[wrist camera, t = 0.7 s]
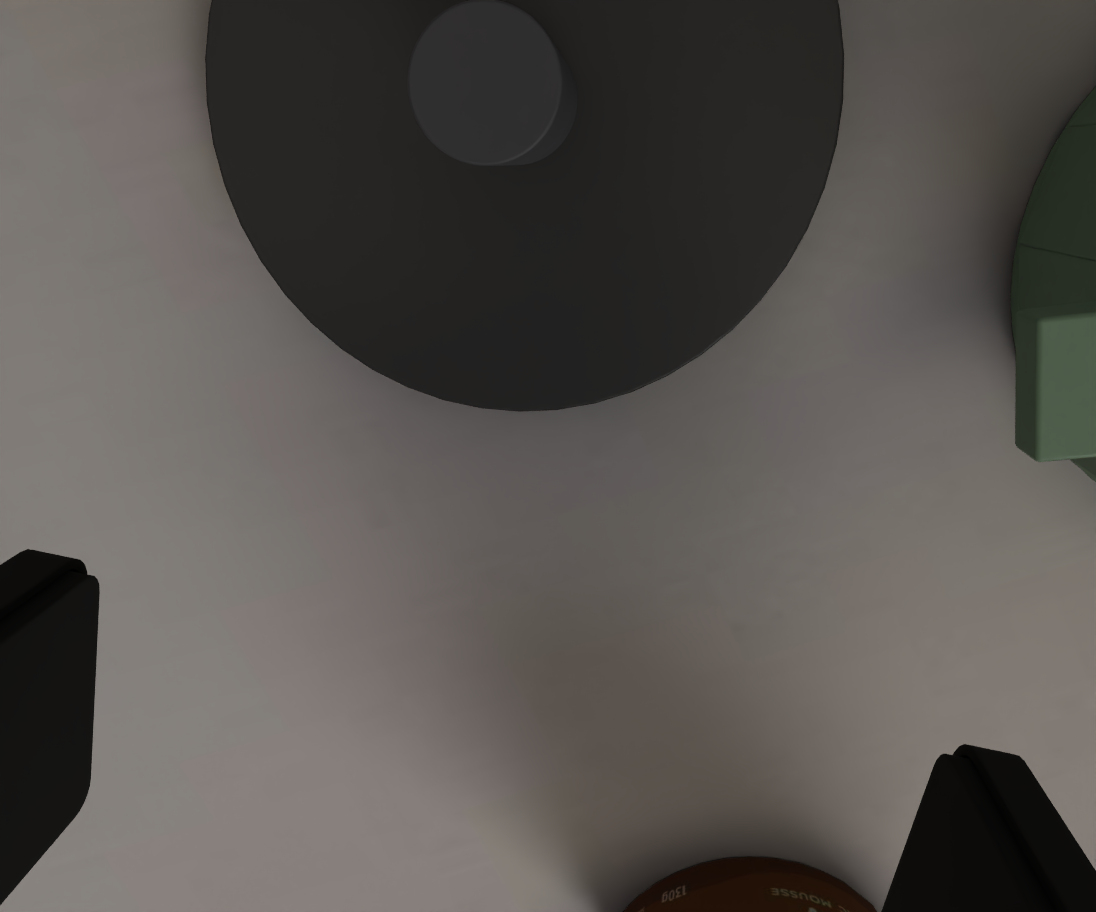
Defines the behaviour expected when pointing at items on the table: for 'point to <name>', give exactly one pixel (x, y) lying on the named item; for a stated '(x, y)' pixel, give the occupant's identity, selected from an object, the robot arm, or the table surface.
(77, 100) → the table surface
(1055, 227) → the cooker
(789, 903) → the food container
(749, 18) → the lid
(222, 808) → the table surface
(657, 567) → the table surface
